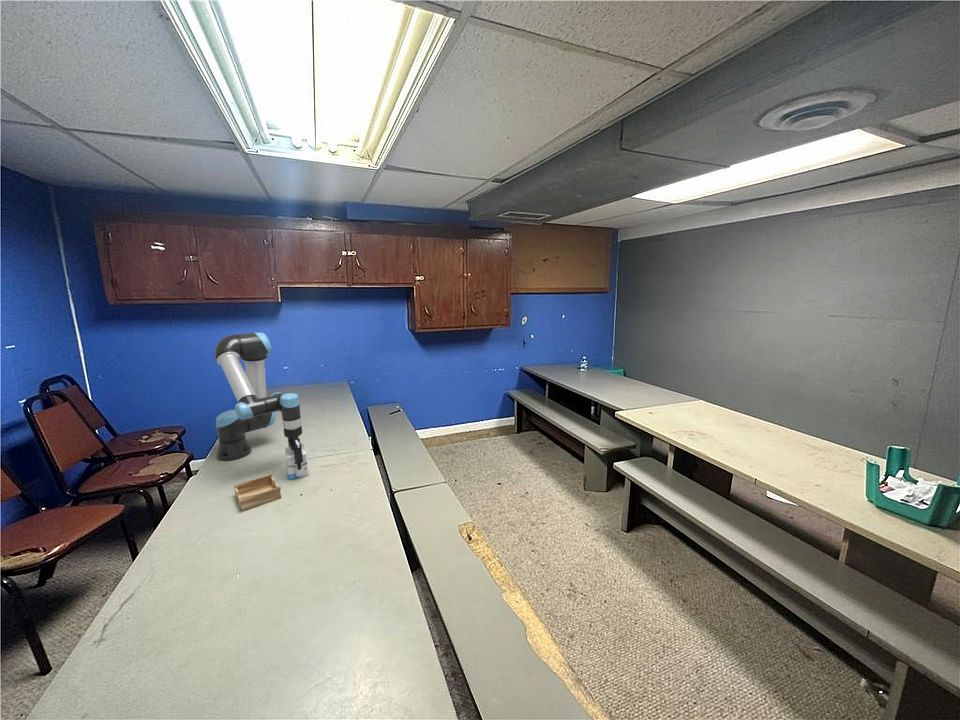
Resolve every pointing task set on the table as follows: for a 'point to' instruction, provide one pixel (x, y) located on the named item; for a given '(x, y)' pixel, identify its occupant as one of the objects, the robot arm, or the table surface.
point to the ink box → (291, 466)
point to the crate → (257, 492)
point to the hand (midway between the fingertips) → (297, 472)
